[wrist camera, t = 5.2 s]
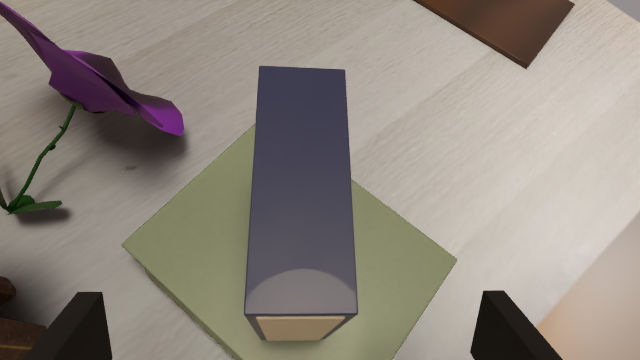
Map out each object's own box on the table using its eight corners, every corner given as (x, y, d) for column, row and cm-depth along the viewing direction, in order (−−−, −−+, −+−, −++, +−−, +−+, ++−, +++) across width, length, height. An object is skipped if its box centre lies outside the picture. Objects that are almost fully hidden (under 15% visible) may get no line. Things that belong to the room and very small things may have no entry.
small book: (322, 179, 30) (345, 69, 19) (325, 341, 25) (358, 317, 14) (267, 178, 29) (259, 65, 18) (260, 341, 24) (243, 318, 14)
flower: (143, 259, 34) (230, 125, 33) (-54, 305, 19) (91, 66, 18) (28, 163, 37) (104, 38, 36) (-221, 140, 22) (-103, -75, 21)
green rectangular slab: (444, 266, 31) (460, 256, 28) (325, 443, 25) (331, 452, 22) (269, 131, 34) (268, 111, 32) (132, 259, 29) (116, 248, 26)
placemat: (572, 7, 45) (575, 3, 44) (526, 68, 40) (529, 65, 40) (465, -52, 48) (467, -56, 47) (411, -1, 43) (413, -6, 43)
